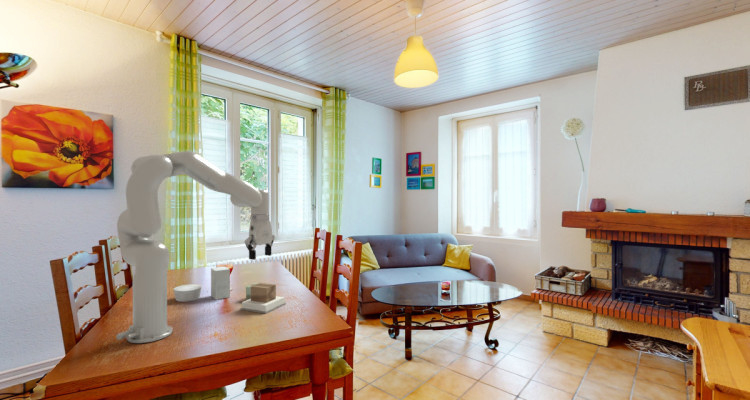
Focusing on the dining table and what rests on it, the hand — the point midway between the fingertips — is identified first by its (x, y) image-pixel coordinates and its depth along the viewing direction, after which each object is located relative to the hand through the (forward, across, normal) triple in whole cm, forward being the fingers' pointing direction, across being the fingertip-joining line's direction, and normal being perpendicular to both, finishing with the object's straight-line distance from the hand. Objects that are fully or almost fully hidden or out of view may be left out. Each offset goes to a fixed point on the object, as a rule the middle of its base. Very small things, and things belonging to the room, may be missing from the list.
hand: (260, 257), depth 149 cm
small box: (+20, -1, +23) cm, 30 cm away
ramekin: (+20, -10, +33) cm, 40 cm away
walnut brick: (+17, -4, -5) cm, 18 cm away
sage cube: (+20, +3, +6) cm, 21 cm away
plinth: (+20, -4, -5) cm, 21 cm away
